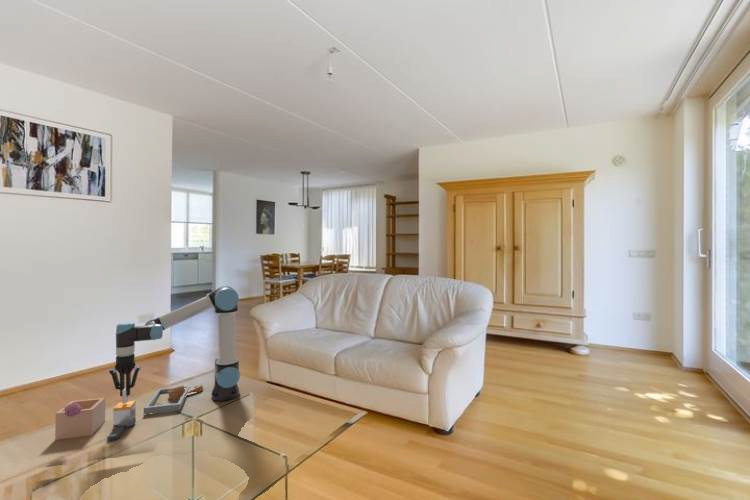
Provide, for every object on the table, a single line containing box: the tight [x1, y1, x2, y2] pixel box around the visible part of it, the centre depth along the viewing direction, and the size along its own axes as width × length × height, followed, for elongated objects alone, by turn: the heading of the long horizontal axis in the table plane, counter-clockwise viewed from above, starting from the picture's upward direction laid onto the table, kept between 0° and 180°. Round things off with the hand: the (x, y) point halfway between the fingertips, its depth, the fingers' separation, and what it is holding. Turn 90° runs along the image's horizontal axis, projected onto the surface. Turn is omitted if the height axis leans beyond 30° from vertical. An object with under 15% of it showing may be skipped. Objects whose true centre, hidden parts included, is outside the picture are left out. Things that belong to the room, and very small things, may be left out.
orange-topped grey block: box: [112, 400, 137, 426], centre depth 173 cm, size 7×7×8 cm
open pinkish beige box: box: [54, 397, 106, 441], centre depth 169 cm, size 14×14×12 cm
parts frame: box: [143, 385, 191, 415], centre depth 199 cm, size 17×27×4 cm, turn 18°
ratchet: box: [106, 417, 136, 442], centre depth 168 cm, size 9×19×8 cm, turn 18°
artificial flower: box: [63, 402, 83, 417], centre depth 163 cm, size 7×7×25 cm
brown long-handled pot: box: [167, 384, 204, 401], centre depth 209 cm, size 18×8×7 cm, turn 140°
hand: (125, 402), depth 173 cm, fingers closed
